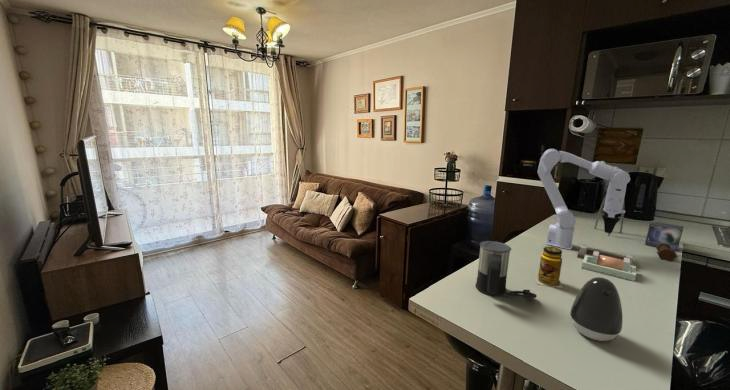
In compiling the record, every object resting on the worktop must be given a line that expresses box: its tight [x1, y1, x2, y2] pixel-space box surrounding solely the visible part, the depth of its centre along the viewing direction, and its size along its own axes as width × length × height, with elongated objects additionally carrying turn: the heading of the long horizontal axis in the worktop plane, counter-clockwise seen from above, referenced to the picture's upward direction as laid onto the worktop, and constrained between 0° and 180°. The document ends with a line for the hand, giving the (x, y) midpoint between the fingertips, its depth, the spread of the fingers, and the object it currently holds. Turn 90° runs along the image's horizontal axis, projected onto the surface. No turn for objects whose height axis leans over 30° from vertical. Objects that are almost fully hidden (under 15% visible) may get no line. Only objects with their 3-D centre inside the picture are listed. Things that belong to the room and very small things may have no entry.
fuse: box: [591, 251, 630, 272], centre depth 109 cm, size 10×5×5 cm, turn 49°
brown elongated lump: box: [655, 243, 678, 262], centre depth 124 cm, size 6×5×15 cm
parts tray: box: [581, 255, 637, 282], centre depth 110 cm, size 15×9×2 cm, turn 49°
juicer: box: [594, 182, 625, 237], centre depth 148 cm, size 10×11×30 cm
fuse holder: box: [576, 243, 634, 266], centre depth 119 cm, size 17×11×4 cm, turn 49°
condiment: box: [533, 245, 564, 289], centre depth 100 cm, size 7×8×12 cm
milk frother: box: [475, 240, 538, 300], centre depth 92 cm, size 14×16×15 cm
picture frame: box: [644, 220, 684, 253], centre depth 133 cm, size 11×6×10 cm, turn 41°
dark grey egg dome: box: [569, 276, 623, 342], centre depth 73 cm, size 10×10×15 cm
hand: (608, 230), depth 124 cm, fingers open, 7 cm apart
